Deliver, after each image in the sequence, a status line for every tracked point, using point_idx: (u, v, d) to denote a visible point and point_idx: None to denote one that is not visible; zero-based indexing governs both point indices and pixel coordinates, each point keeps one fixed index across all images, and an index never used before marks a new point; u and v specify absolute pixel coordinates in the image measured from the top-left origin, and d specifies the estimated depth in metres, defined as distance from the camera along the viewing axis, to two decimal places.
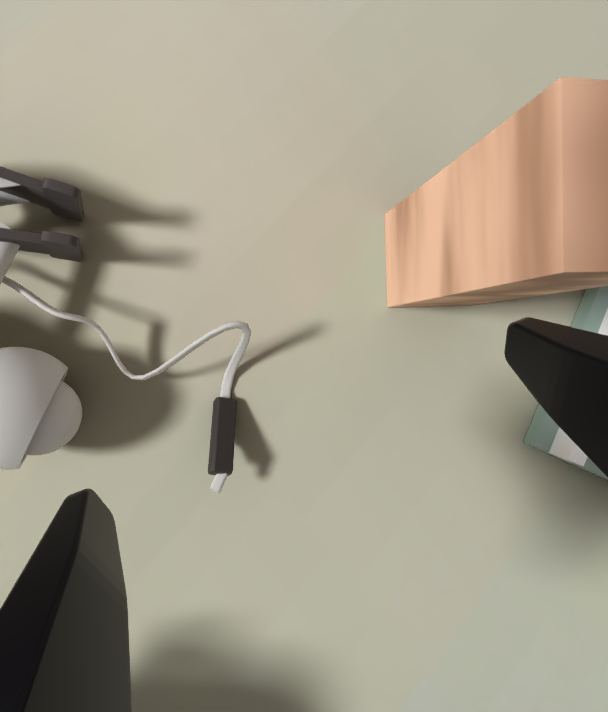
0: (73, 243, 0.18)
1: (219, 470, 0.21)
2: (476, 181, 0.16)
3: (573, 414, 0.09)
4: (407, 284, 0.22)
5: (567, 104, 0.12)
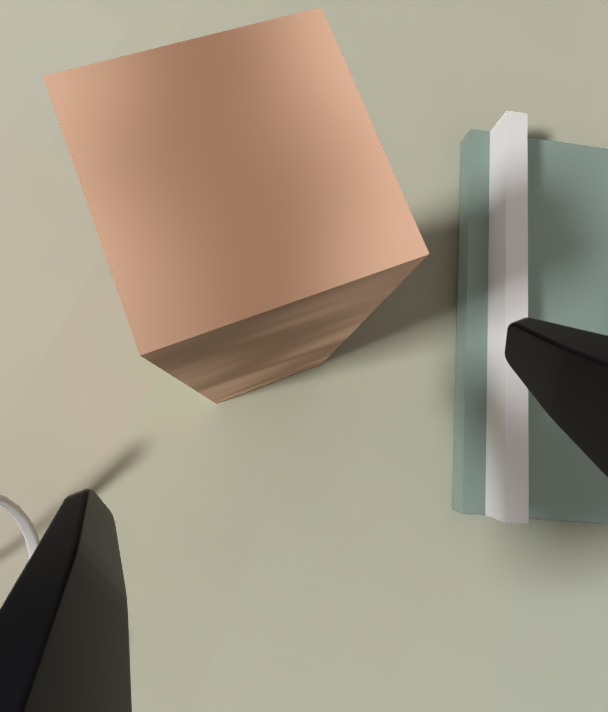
0: None
1: None
2: None
3: (573, 414, 0.09)
4: None
5: (69, 109, 0.07)
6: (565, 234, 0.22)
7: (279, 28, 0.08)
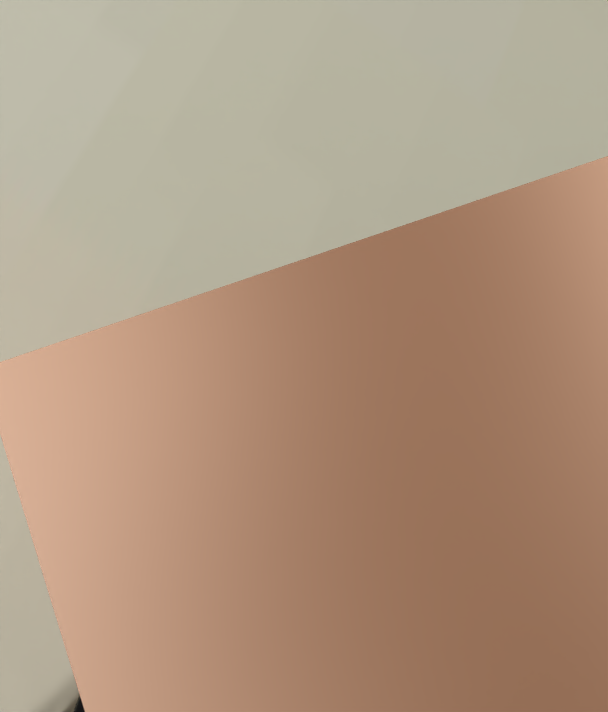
0: None
1: None
2: None
3: None
4: None
5: (55, 461, 0.03)
6: None
7: (585, 193, 0.03)
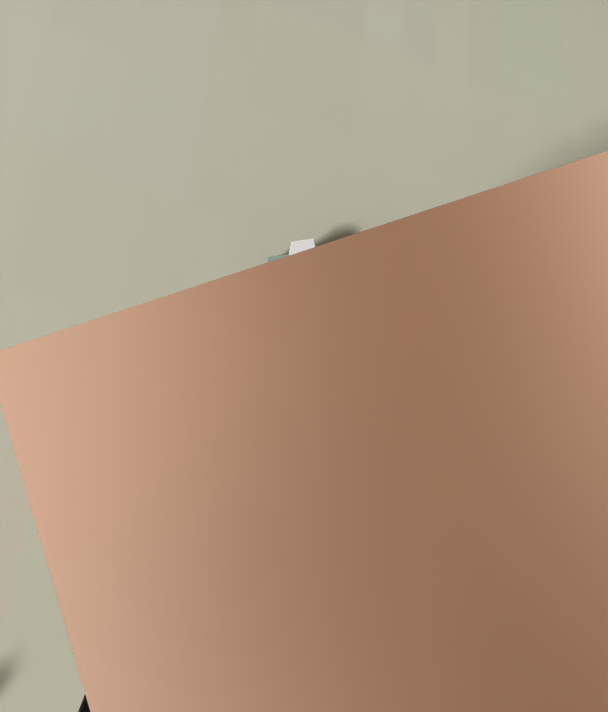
0: None
1: None
2: None
3: None
4: None
5: (56, 444, 0.03)
6: None
7: (575, 190, 0.03)
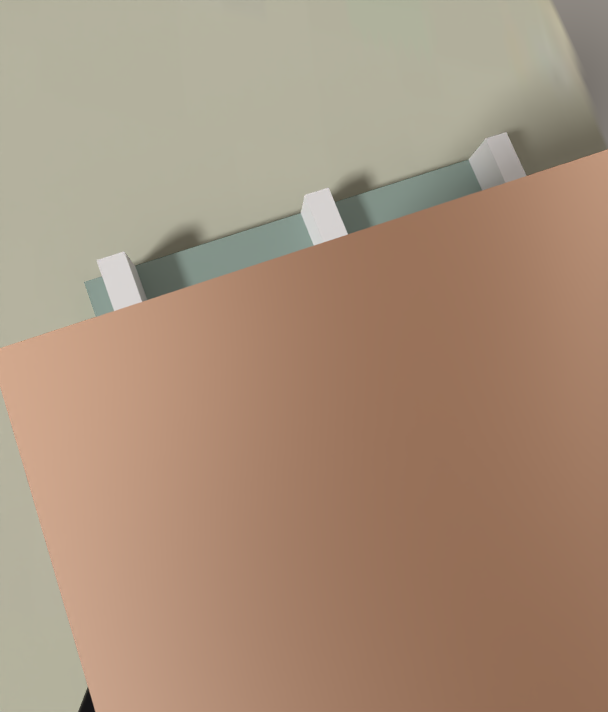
0: None
1: None
2: None
3: None
4: None
5: (60, 441, 0.03)
6: None
7: (578, 187, 0.03)
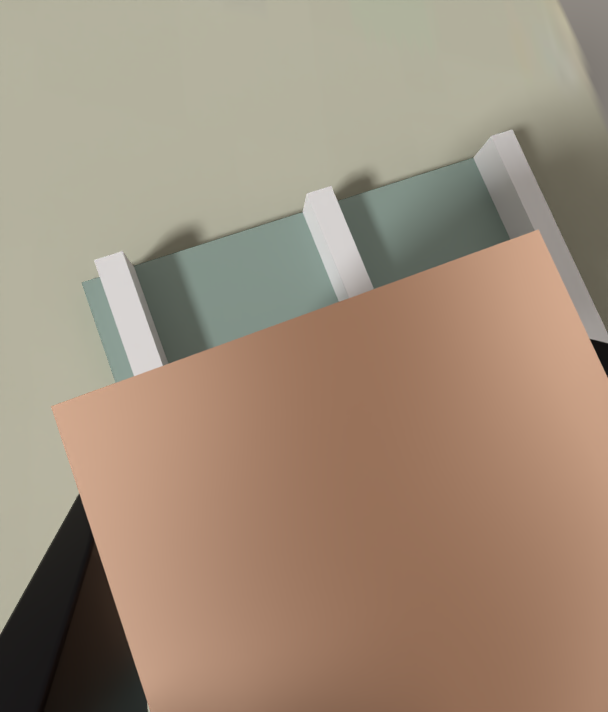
0: None
1: None
2: None
3: None
4: None
5: (101, 467, 0.04)
6: None
7: (470, 275, 0.04)
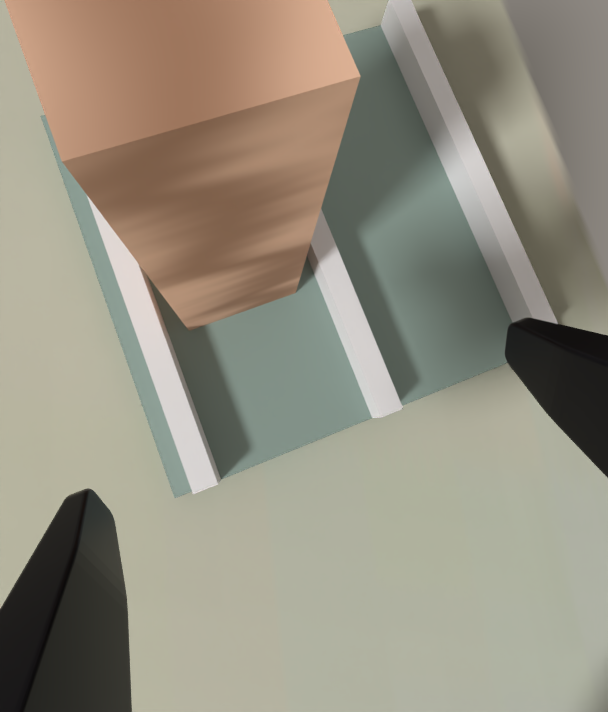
0: None
1: None
2: None
3: (573, 414, 0.09)
4: None
5: None
6: None
7: None
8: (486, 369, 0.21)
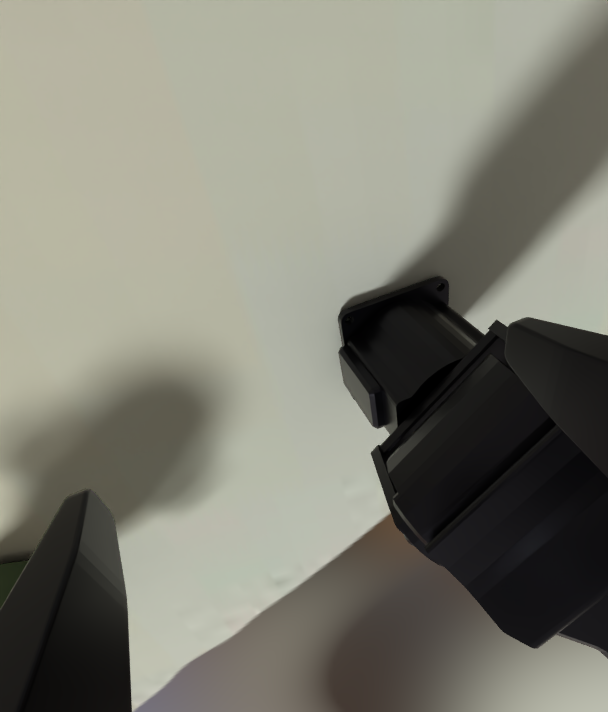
0: None
1: None
2: None
3: (573, 414, 0.09)
4: None
5: None
6: None
7: None
8: None
